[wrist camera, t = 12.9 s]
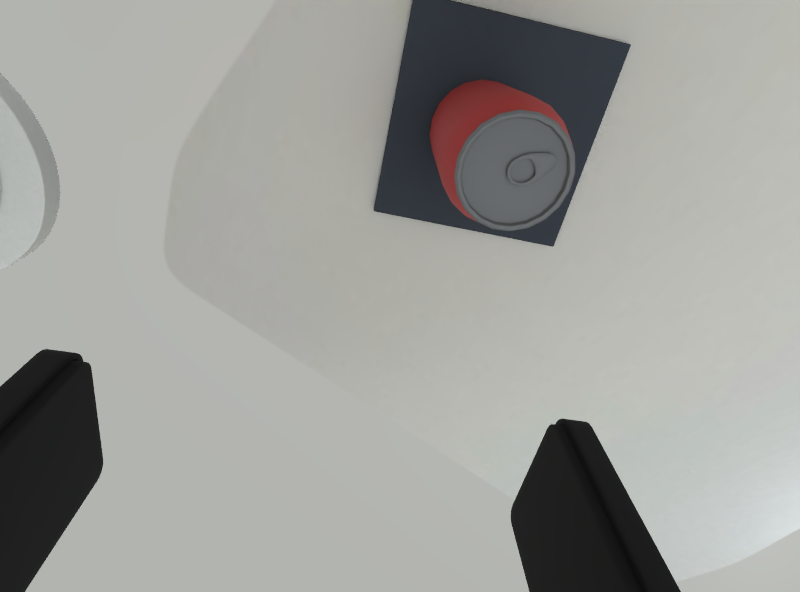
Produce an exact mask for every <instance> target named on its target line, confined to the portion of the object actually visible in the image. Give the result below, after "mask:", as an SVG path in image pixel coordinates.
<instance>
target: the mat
mask: <svg viewBox="0 0 800 592" xmlns="http://www.w3.org/2000/svg"><path fill="white" fill-rule="evenodd" d="M630 46H631V45H630V44H627V43H623V42H619V41H615V40H610V39H606V38H602V37H598V36H594V35H590V34H586V33H582V32H578V31H574V30H570V29H566V28H561V27H557V26H553V25H549V24H545V23H541V22H537V21H533V20H529V19H525V18H521V17H517V16H512V15H508V14H504V13H500V12H496V11H492V10H488V9H484V8H480V7H476V6H472V5H468V4H464V3H459V2H455V1H451V0H413V3H412V8H411V14H410V19H409V24H408V30H407V35H406V40H405V46H404V51H403V57H402V62H401V67H400V73H399V78H398V83H397V89H396V94H395V99H394V105H393V110H392V116H391V121H390V126H389V132H388V137H387V142H386V148H385V153H384V158H383V164H382V169H381V175H380V180H379V185H378V191H377V196H376V201H375V207H374V211H377V212H382V213H387V214H392V215H397V216H402V217H407V218H412V219H417V220H422V221H427V222H432V223H437V224H442V225H447V226H452V227H457V228H462V229H467V230H472V231H478V232H483V233H488V234H493V235H498V236H503V237H508V238H513V239H518V240H523V241H528V242H533V243H538V244H543V245H548V246H554V243H555V241H556V238H557V235H558V233H559V230H560V228H561V225H562V222H563V220H564V217H565V215H566V212H567V209H568V207H569V204H570V202H571V199H572V196H573V194H574V191H575V189H576V186H577V183H578V181H579V178H580V176H581V173H582V170H583V168H584V165H585V163H586V160H587V157H588V155H589V152H590V150H591V147H592V144H593V142H594V139H595V137H596V134H597V131H598V129H599V126H600V124H601V121H602V118H603V116H604V113H605V111H606V108H607V105H608V103H609V100H610V98H611V95H612V92H613V90H614V87H615V85H616V82H617V79H618V77H619V74H620V72H621V69H622V66H623V64H624V61H625V59H626V56H627V53H628V51H629V48H630ZM481 79H482V80H489V81H496V82H499V83H502V84H504V85H507V86H509V87H512V88H514V89H517V90H519V91H522V92H524V93H527V94H529V95H532V96H534V97H536V98H538V99H539V100H541V101H543V102H545V103H547V104H549V105H550V106H551V107H552V108H553V109H554V110H555V111H556V113H557V114H558V115H559V116H560V117H561V118H562V120H563V121H564V123H565V125H566V128H567V131H568V134H569V136H570V139H571V142H572V146H573V149H574V152H575V175H574V178H573V182H572V185H571V188H570V191H569V193H568V194H567V196H566V197H565V199H564V200H563V202H562V203H561V205H560V207H559V208H558V209H556V210H555V211H554V212H553V213H552V214H551V215H550V216H548V217H547V218H546V219H545V220H543V221H541V222H539V223H537V224H535V225H533V226H531V227H529V228H525V229H519V230H514V231H505V230H497V229H491V228H489V227H487V226H485V225H483V224H481V223H479V222H477V221H474V220H472V219H470V218H468V217H466V216H465V215H464V214H463V213H462V212H461V211H460V210H459V209H458V208H457V207H456V206H454V205H453V204H452V203H451V201H450V199H449V197H448V195H447V193H446V191H445V189H444V187H443V184H442V181H441V178H440V175H439V171H438V168H437V165H436V162H435V158H434V155H433V152H432V147H431V140H430V129H431V122H432V118H433V116H434V113H435V111H436V109H437V107H438V105H439V103H440V102H441V101H442V100H443V99H444V98H445V97H446V96H447V95H448V93H449V92H450V91H452V90H453V89H455V88H457V87H459V86H460V85H462V84H464V83H466V82H471V81H476V80H481Z"/></svg>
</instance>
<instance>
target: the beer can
mask: <svg viewBox="0 0 800 592" xmlns="http://www.w3.org/2000/svg"><path fill="white" fill-rule="evenodd" d="M430 140H431V147H432V152H433V155H434V158H435V162H436V165H437V168H438V171H439V175H440V178H441V181H442V184H443V187H444V189H445V191H446V193H447V195H448V197H449V199H450V201H451V203H452V204H453V205H454V206H456V207H457V208H458V209H459V210H460V211H461V212H462V213H463V214H464V215H465V216H466V217H468V218H470V219H472V220H474V221H477V222H479V223H481V224H483V225H485V226H487V227H489V228H491V229H497V230H505V231H514V230H519V229H525V228H529V227H531V226H533V225H535V224H537V223H539V222H541V221H543V220H545V219H546V218H547V217H548V216H550V215H551V214H552V213H553V212H554V211H555V210H556V209H558V208H559V207H560V205H561V203H562V202H563V200H564V199H565V197H566V196H567V194H568V193H569V191H570V188H571V185H572V182H573V178H574V175H575V152H574V149H573V146H572V142H571V139H570V136H569V134H568V131H567V128H566V125H565V123H564V121H563V120H562V118H561V117H560V116H559V115H558V114H557V113H556V111H555V110H554V109H553V108H552V107H551V106H550V105H549V104H547V103H545V102H543V101H541V100H539V99H538V98H536V97H534V96H532V95H529V94H527V93H524V92H522V91H519V90H517V89H514V88H512V87H509V86H507V85H504V84H502V83H499V82H496V81H489V80H482V79H481V80H476V81H471V82H466V83H464V84H462V85H460V86H459V87H457V88H455V89H453V90H452V91H450V92H449V93H448V95H447V96H446V97H445V98H444V99H443V100H442V101H441V102H440V103H439V105H438V107H437V109H436V111H435V113H434V116H433V118H432V122H431V129H430Z"/></svg>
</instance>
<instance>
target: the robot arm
mask: <svg viewBox="0 0 800 592" xmlns="http://www.w3.org/2000/svg"><path fill="white" fill-rule="evenodd" d="M1 191H2V188H1V181H0V204H1ZM102 466H103V457H102V448H101V440H100V432H99V425H98V418H97V410H96V402H95V394H94V386H93V378H92V371H91V366H90V364H89V363H87V362H83V359H82V357H81V355H80V354H77V353H71V352H64V351H56V350H48V349H46V350H42V351H40V352H39V353H37V354H36V355H35V356H34V357H33V358H32V359H31V360H29V362H27V363H26V364H25V365H24V366H23V367H22V368H21V369H20V370H19V371H17V372H16V373H15V374H14V375H13V376H12V377H11V378H10V379H8V380H7V381H6V382H5V383H4V384H3V385H2V386H1V387H0V592H25V590H26V589H27V587H28V586H29V584H30V583H31V581H32V580H33V578H34V577H35V575H36V574H37V572H38V570H39V569H40V567H41V566H42V564H43V563H44V561H45V560H46V558H47V557H48V555H49V554H50V552H51V551H52V549H53V548H54V546H55V544H56V543H57V541H58V540H59V538H60V537H61V535H62V534H63V532H64V530H65V529H66V528H67V526H68V525H69V523H70V522H71V520H72V518H73V517H74V515H75V514H76V512H77V511H78V509H79V508H80V506H81V505H82V503H83V501H84V500H85V499H86V497H87V495H88V494H89V492H90V491H91V489H92V488H93V486H94V485H95V483H96V482H97V480H98V478H99V476H100V474H101V471H102ZM511 523H512V527H513V531H514V535H515V539H516V542H517V546H518V550H519V554H520V557H521V561H522V565H523V569H524V572H525V576H526V580H527V584H528V587H529V591H530V592H681V591H680V590H679V588H678V586H677V584H676V582H675V580H674V578H673V577H672V575H671V573H670V571H669V569H668V567H667V565H666V564H665V562H664V560H663V558H662V556H661V554H660V552H659V551H658V549H657V547H656V545H655V543H654V541H653V540H652V538H651V536H650V534H649V532H648V530H647V528H646V527H645V525H644V523H643V521H642V519H641V517H640V515H639V514H638V512H637V510H636V508H635V506H634V504H633V503H632V501H631V499H630V497H629V495H628V493H627V491H626V490H625V488H624V486H623V484H622V482H621V480H620V478H619V477H618V475H617V473H616V471H615V469H614V467H613V465H612V464H611V462H610V460H609V458H608V456H607V454H606V453H605V451H604V449H603V447H602V445H601V443H600V441H599V440H598V438H597V436H596V434H595V432H594V430H593V428H592V427H591V426H590V424H589V423H587V422H582V421H575V420H568V419H560V420H558V421H557V422H556V424H555V425H550V426H549V427H548V429H547V431H546V433H545V435H544V437H543V440H542V442H541V444H540V446H539V448H538V451H537V453H536V455H535V457H534V459H533V462H532V464H531V466H530V468H529V470H528V473H527V475H526V477H525V479H524V481H523V484H522V486H521V488H520V490H519V492H518V495H517V497H516V499H515V501H514V503H513V506H512V510H511Z"/></svg>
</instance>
